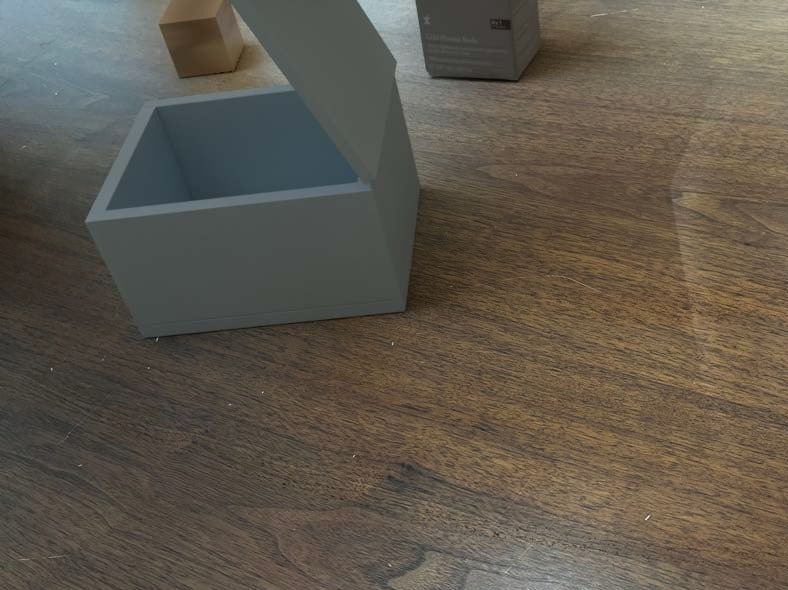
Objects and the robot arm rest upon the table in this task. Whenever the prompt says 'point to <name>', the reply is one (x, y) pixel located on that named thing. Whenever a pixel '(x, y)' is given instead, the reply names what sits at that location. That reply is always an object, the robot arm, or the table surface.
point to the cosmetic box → (478, 37)
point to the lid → (331, 69)
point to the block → (201, 36)
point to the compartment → (253, 216)
